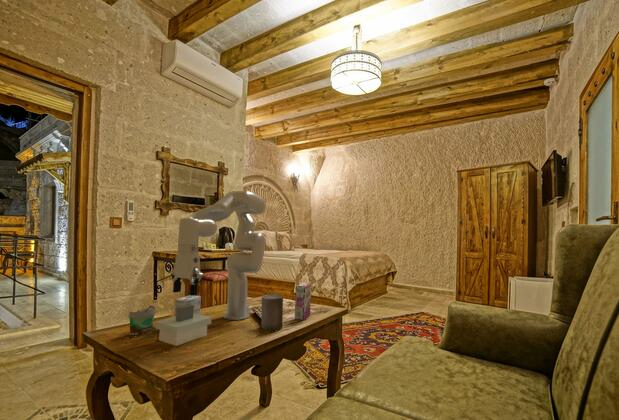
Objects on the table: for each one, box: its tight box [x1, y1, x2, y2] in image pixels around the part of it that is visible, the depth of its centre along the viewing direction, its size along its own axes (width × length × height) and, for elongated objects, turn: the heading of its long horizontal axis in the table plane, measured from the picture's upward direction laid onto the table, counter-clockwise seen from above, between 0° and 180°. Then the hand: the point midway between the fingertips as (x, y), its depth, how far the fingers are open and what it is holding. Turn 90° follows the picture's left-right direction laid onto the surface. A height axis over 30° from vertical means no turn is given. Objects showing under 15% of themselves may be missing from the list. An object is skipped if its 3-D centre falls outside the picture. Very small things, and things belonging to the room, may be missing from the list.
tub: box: [158, 325, 208, 347], centre depth 123 cm, size 14×10×7 cm
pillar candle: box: [260, 293, 284, 331], centre depth 142 cm, size 10×10×15 cm
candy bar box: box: [294, 282, 312, 321], centre depth 160 cm, size 11×5×16 cm, turn 162°
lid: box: [155, 304, 213, 334], centre depth 123 cm, size 16×12×8 cm
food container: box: [128, 305, 157, 336], centre depth 129 cm, size 12×6×10 cm, turn 168°
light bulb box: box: [173, 294, 202, 317], centre depth 149 cm, size 11×7×11 cm, turn 162°
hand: (185, 293), depth 123 cm, fingers open, 9 cm apart
